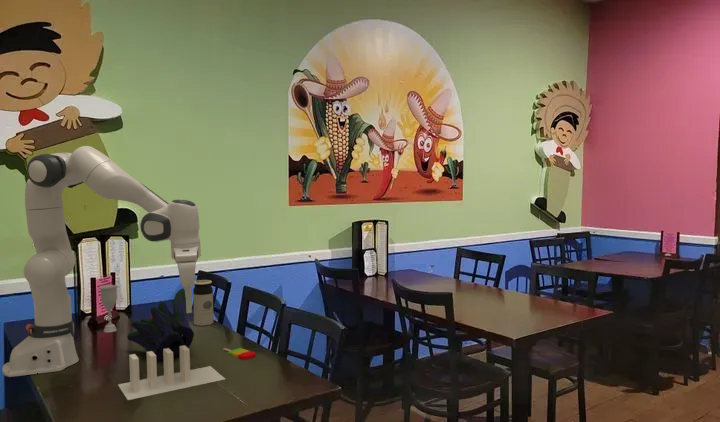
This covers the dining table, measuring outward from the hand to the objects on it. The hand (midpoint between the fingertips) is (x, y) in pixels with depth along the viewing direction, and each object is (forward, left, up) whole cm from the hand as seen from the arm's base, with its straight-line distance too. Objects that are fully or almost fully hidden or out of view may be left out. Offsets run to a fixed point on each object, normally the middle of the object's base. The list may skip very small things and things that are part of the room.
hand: (188, 295), depth 182 cm
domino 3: (-7, -2, -26) cm, 27 cm away
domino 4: (-2, -2, -26) cm, 26 cm away
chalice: (-11, +69, -27) cm, 74 cm away
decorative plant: (0, +31, -27) cm, 41 cm away
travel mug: (+24, +58, -27) cm, 68 cm away
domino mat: (-6, -2, -26) cm, 27 cm away
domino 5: (0, 0, -5) cm, 5 cm away
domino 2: (-12, -2, -26) cm, 29 cm away
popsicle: (+21, +13, -27) cm, 36 cm away
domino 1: (-17, -2, -26) cm, 31 cm away
